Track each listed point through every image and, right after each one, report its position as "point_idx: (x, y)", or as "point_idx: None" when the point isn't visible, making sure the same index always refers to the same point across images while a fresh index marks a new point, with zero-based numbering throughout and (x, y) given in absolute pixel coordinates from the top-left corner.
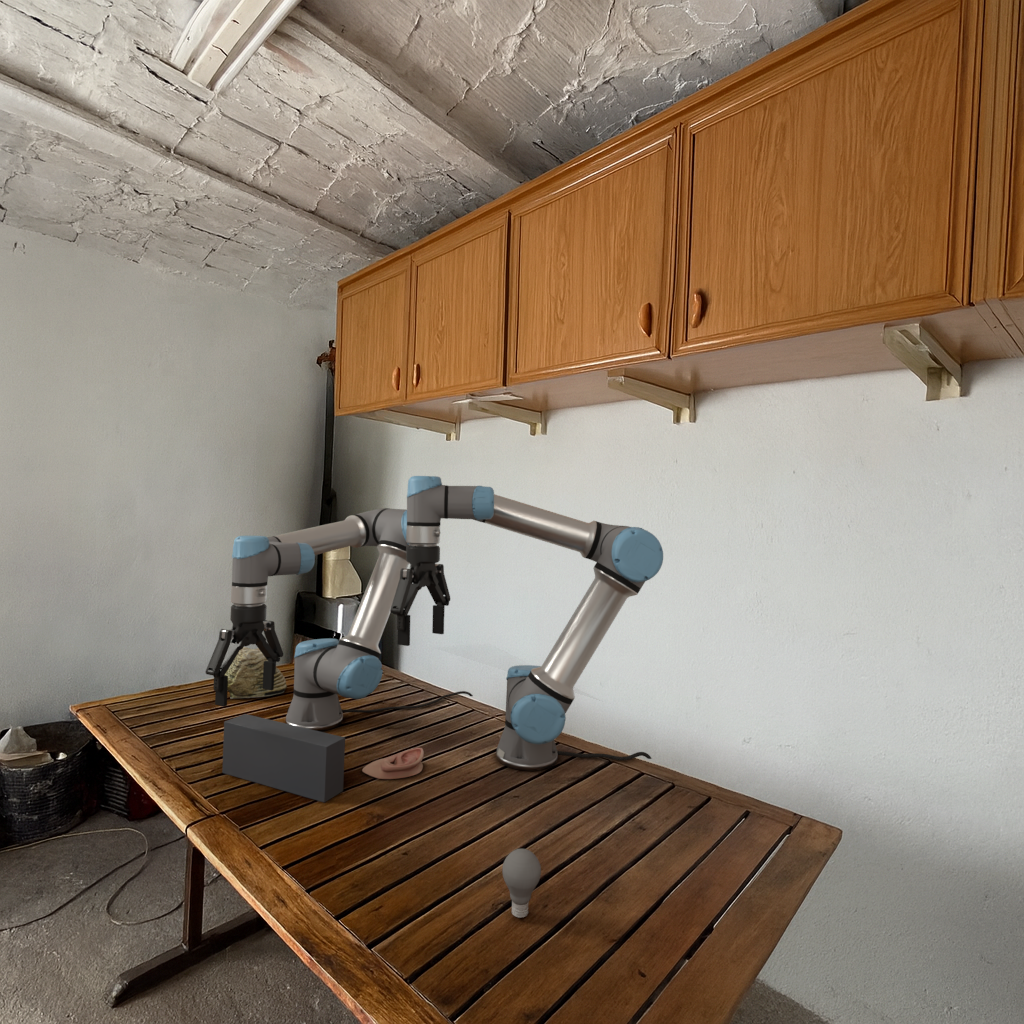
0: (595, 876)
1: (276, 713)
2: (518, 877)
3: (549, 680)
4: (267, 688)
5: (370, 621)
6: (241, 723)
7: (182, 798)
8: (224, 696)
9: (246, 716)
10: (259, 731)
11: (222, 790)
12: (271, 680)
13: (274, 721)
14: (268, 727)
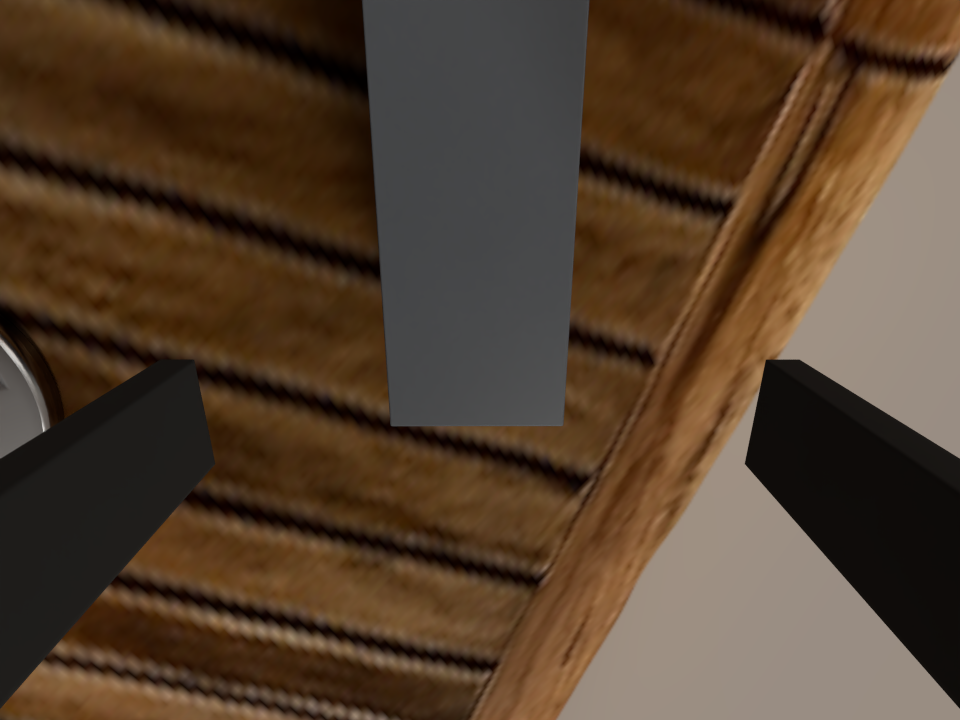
0: None
1: None
2: None
3: None
4: (198, 412)
5: None
6: (535, 313)
7: (762, 280)
8: (865, 402)
9: (420, 384)
10: (581, 90)
11: (652, 201)
12: (127, 409)
13: (383, 138)
14: (503, 75)
